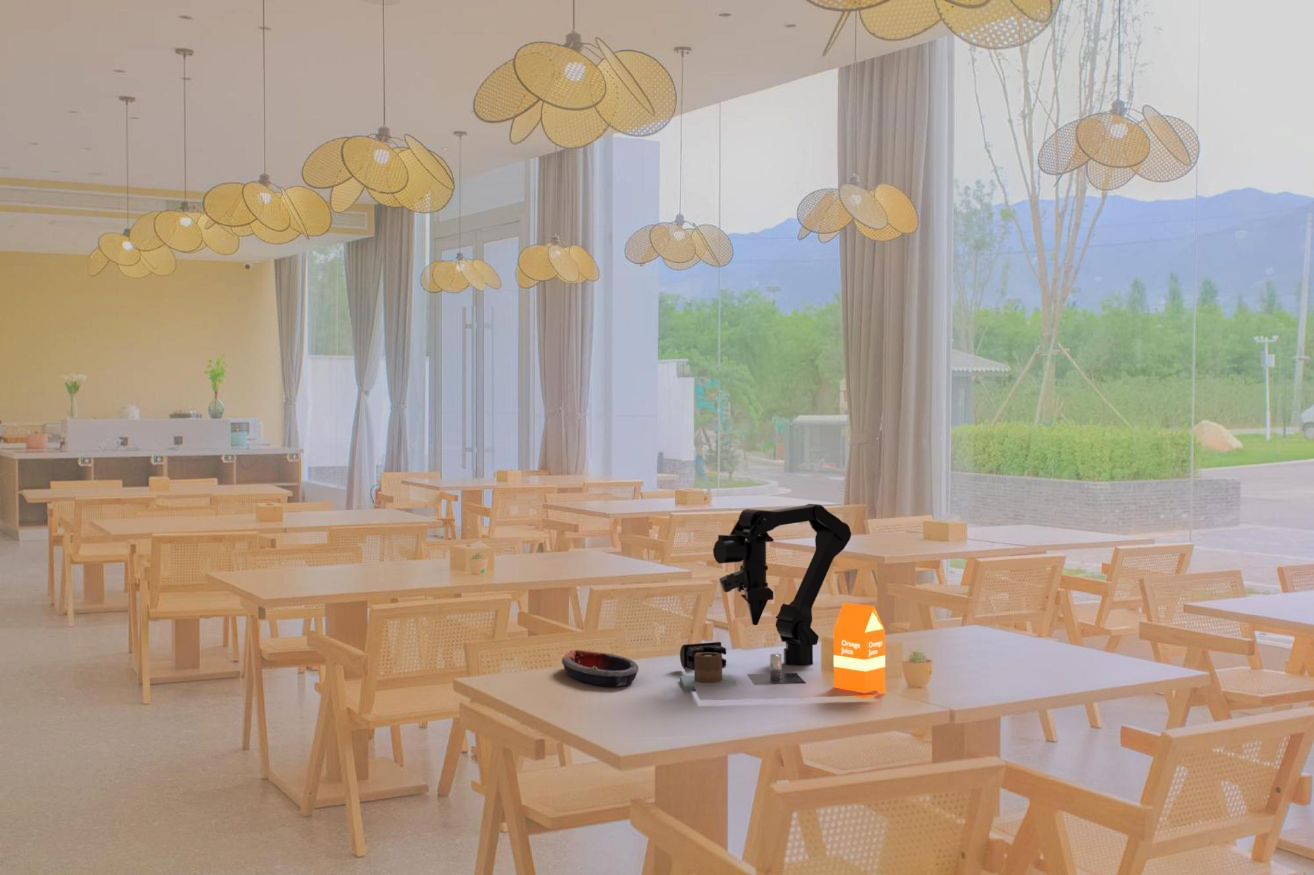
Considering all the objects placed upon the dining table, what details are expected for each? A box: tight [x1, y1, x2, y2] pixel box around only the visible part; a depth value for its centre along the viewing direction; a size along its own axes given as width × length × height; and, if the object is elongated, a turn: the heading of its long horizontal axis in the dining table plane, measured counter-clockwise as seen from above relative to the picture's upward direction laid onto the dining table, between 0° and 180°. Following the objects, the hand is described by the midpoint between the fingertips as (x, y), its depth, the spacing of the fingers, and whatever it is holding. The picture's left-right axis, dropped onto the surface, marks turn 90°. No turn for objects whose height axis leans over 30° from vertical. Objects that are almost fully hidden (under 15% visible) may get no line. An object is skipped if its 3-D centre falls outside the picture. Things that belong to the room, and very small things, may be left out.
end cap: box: [679, 641, 727, 672], centre depth 309 cm, size 10×7×7 cm
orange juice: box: [833, 602, 886, 699], centre depth 282 cm, size 8×9×20 cm
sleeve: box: [693, 652, 723, 683], centre depth 291 cm, size 6×6×7 cm
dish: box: [561, 649, 639, 687], centre depth 302 cm, size 16×31×5 cm, turn 24°
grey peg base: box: [679, 655, 738, 692], centre depth 291 cm, size 12×12×7 cm
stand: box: [746, 653, 807, 686], centre depth 292 cm, size 12×12×7 cm
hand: (754, 624), depth 304 cm, fingers closed
